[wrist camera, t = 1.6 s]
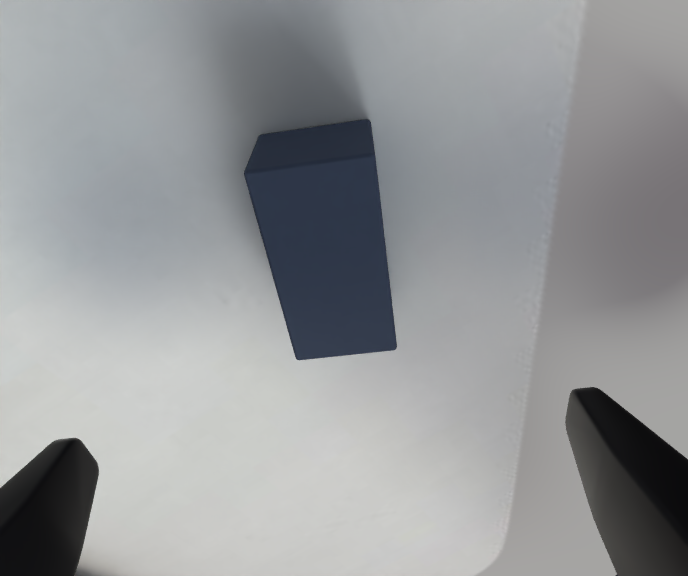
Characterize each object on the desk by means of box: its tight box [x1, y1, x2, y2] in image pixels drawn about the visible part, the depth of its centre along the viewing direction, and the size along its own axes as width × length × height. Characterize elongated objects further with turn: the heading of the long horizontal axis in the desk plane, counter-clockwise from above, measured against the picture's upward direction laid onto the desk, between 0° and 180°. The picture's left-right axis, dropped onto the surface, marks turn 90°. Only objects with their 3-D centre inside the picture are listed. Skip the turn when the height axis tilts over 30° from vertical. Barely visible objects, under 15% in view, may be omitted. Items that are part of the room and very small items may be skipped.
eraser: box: [244, 119, 397, 360], centre depth 14 cm, size 6×3×2 cm, turn 8°
